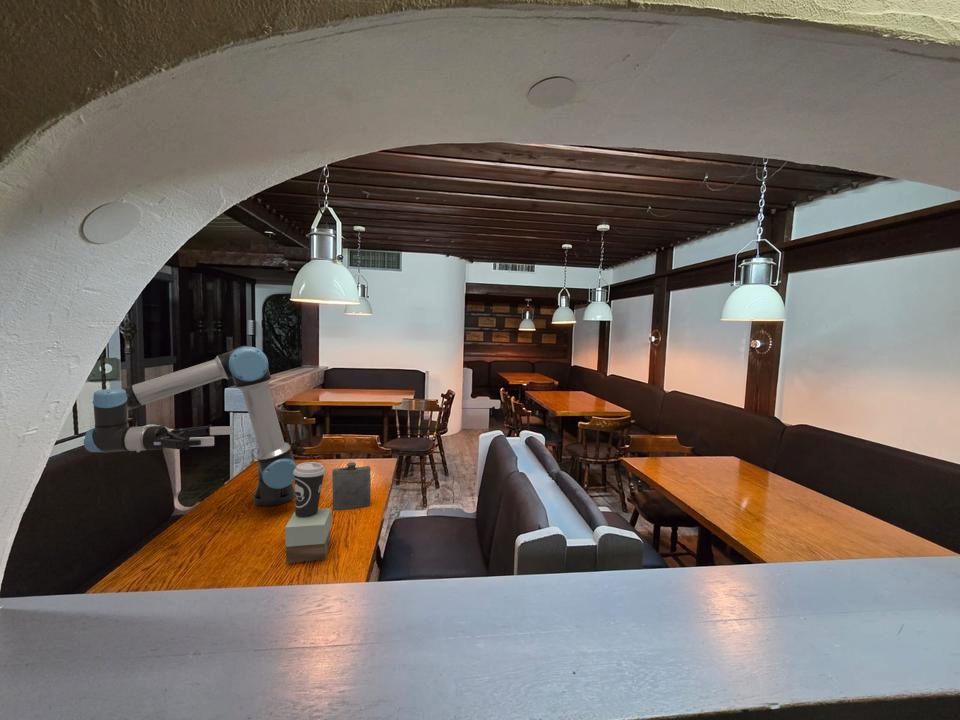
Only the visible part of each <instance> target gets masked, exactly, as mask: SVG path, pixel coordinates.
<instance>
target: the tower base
mask: <svg viewBox="0 0 960 720" xmlns="http://www.w3.org/2000/svg"><path fill="white" fill-rule="evenodd" d="M330 544H331V530H330V531H329V534H328V536H327V539H326V541H325V544H314V545H302V546H290V547H286V546H285V556H286V557H285V558H286V559H285V561H286V563H288V564H296V563H295V562H297V563H305V562H304V561H306V562H313V561H314V560H316V561H324V560H323V559H325V560H326V559H327V554H328V551H329V547H330ZM314 562H315V561H314ZM286 563H285V564H286Z"/></svg>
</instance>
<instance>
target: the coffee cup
mask: <svg viewBox="0 0 960 720" xmlns="http://www.w3.org/2000/svg"><path fill="white" fill-rule="evenodd" d="M293 474H294V475H295V480H294V489H295V497H294V504H295V505H294V506H295V507H294V509H295V511H294V512H295V514H296V515H298V516H302V517H306V516H312V515H314V514H316V513H317V511H318V509H319V504H320V500H321V493H322V486H323V480H324V475H325V474H326V468H325V466H324V464H323V463H320V462H314V461H313V462H311V461H310V462H302V463H301V462H300V463H299V464H297V466H296V468H295V469H294V472H293Z"/></svg>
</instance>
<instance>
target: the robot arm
mask: <svg viewBox="0 0 960 720" xmlns="http://www.w3.org/2000/svg"><path fill="white" fill-rule="evenodd" d="M266 355H267V354H265V353H264V352H263V351H262V350H260V349H259V348H258V347H254V346H251V345H241V346H238V347H236V348H234V349H232V350H230V351H227V352H225V353H222V354H217V355H216V357H214V359H211V360H208V361H205V362H202V363H200V364H196V365H192V366H189V367H187V368H183V369H179V370H177V371H174V372H169V373H167V374H164V375H162V376H158V377H155V378H152V379H148V380H146V381H142V382H139V383H135V384H132V385H129V386H126V387H124V388H107V389H106V388H105V389H100V390H96V391H94V392H93V395H92V396H93V397H92V399H93V400H92V405H93V414H94V415H93V416H94V427H93V428H90V429H88V431H86V433H85V434H84V439H83V446H84V448H85V449H86V451H88V452H90V453H104V454H105V453H106V454H107V453H115V452H135V451H136V453H141V451H161V450H163V449H164V448H165V449H172V450H184V451H187V450H189V449H190V448H191V447H193V448H194V447H198V448H199V447H214V446H215V436H220V435H222V436H225V435H232V434H233V428H232V427H233V426H230V425H229V426H227V425H226V426H212V424H211V423H210V424H208V425H203V426H202V425H201V426H195V427H186V428H175V429H172V430H170V431H169V430H168V429H167V427H166V426H163V425H153V426H152V425H151V426H148V425H145V426H144V425H143V426H129V423H128V411H130V410H133V409H136V408H139V407H142V406H144V405H146V404H151V403H153V402H156V401H159V400H162V399H164V398H168V397H171V396H174V395H177V394H180V393H182V392H186V391H189V390H192V389H195V388H197V387H201V386H204V385H207V384H209V383H213V382H217V381H219V380H222V379H226V380H230V379H232V380H233V383H234V385H235V387H234V388H236V389H238V390H240V391H241V392H242V396H243V400H244V402H245V405H246V409H247V412H248V416H249V419H250V422H251V426H252V430H253V432H254V437H255V440H256V443H257V447H258V448H257V453H256V459H257V474H258V475H257V477H258V479H257V480H258V482H257V486H256V489H255V491H254V495H253V503H254V504H255V505H256V506H259V507H274V506H278V505H282V504H285V503H287V502H290V501H292V500H293V499H295V485H293V482H295V475H294V474H293V472H294V469H295V468H296V466H297V465H298V464H297V463H296V462H295V459H294V455H293V451H292V449H291V445H290V444H289V443H288V442H285V440H284V436H283V432H282V429H281V426H280V425H281V424H280V422H279V418H278V415H277V411H276V408H275V403H274V401H273V397H272V394H271V391H270V386H269V384H270V382H271V381H272V377H271V376H272V375H271V373H270V369H269V361H268V360H269V359H268V357H267V356H266ZM208 435H209V436H208ZM201 436H202V437H201ZM291 499H292V500H291Z"/></svg>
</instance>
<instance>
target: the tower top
mask: <svg viewBox="0 0 960 720" xmlns="http://www.w3.org/2000/svg"><path fill="white" fill-rule="evenodd" d="M331 527H332V508H330V507H329V508H328V507H327V508H318V511H317V513H316V514H314V515H312V516H306V517H302V516H298V515H296V514H295V511H294V512H293V514H292V516H291V517H290V519H289V520H288V522H287V524H286V525H285V527H284V530H285V531H284V532H285V533H284V535H285V536H284V537H285V548H286V547H290V546H302V545H314V544H325V541H326V539H327V536H328V534H329V531H330V532H331Z"/></svg>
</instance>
